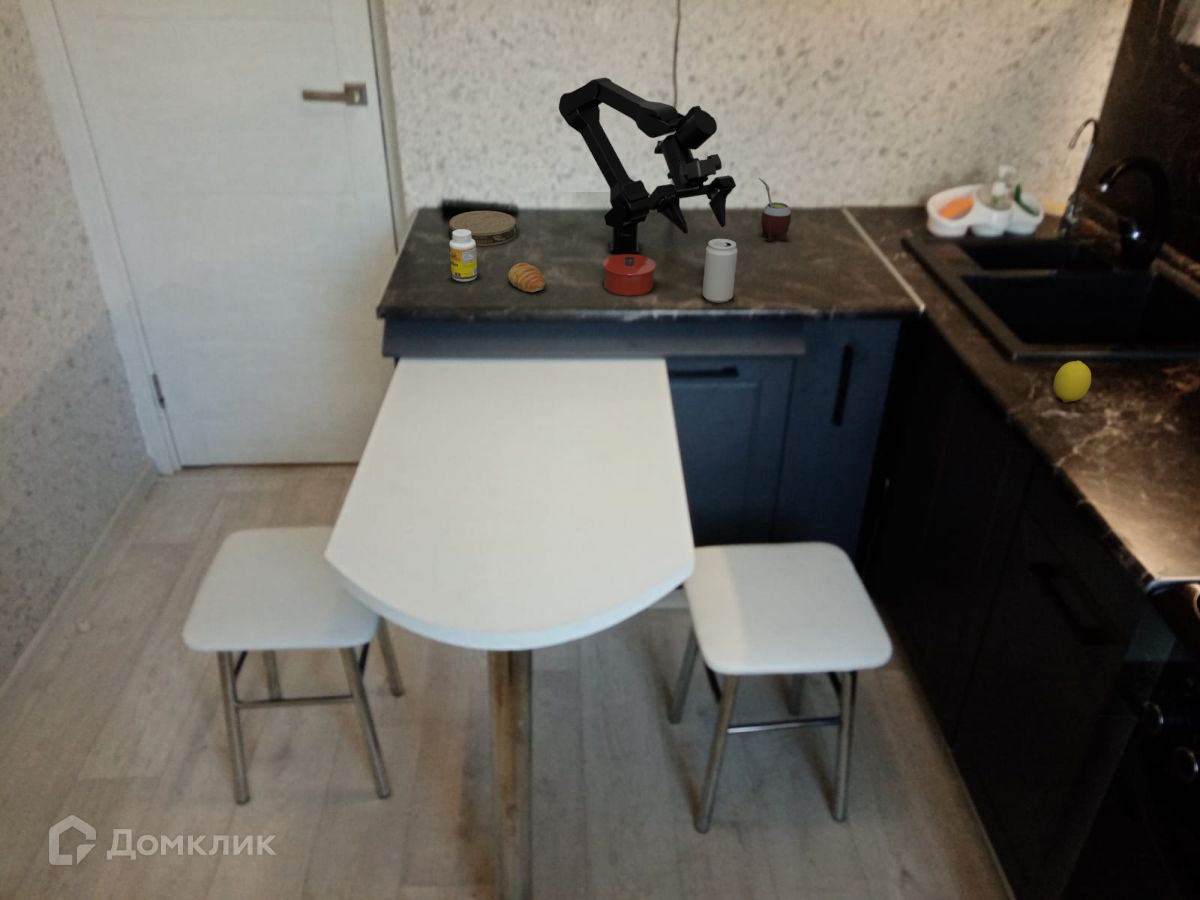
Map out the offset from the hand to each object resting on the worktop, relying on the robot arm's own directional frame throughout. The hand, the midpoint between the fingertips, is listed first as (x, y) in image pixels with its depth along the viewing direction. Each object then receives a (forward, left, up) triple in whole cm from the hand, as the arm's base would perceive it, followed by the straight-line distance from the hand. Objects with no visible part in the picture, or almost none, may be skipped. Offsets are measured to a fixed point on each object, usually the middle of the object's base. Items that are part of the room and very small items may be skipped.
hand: (705, 229), depth 189 cm
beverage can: (+6, +3, -13) cm, 14 cm away
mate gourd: (-30, +20, -13) cm, 38 cm away
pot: (0, -15, -13) cm, 20 cm away
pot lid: (0, -15, -8) cm, 17 cm away
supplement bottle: (-2, -51, -13) cm, 53 cm away
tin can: (-29, -50, -13) cm, 59 cm away
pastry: (+1, -37, -13) cm, 39 cm away
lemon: (+47, +59, -13) cm, 76 cm away
